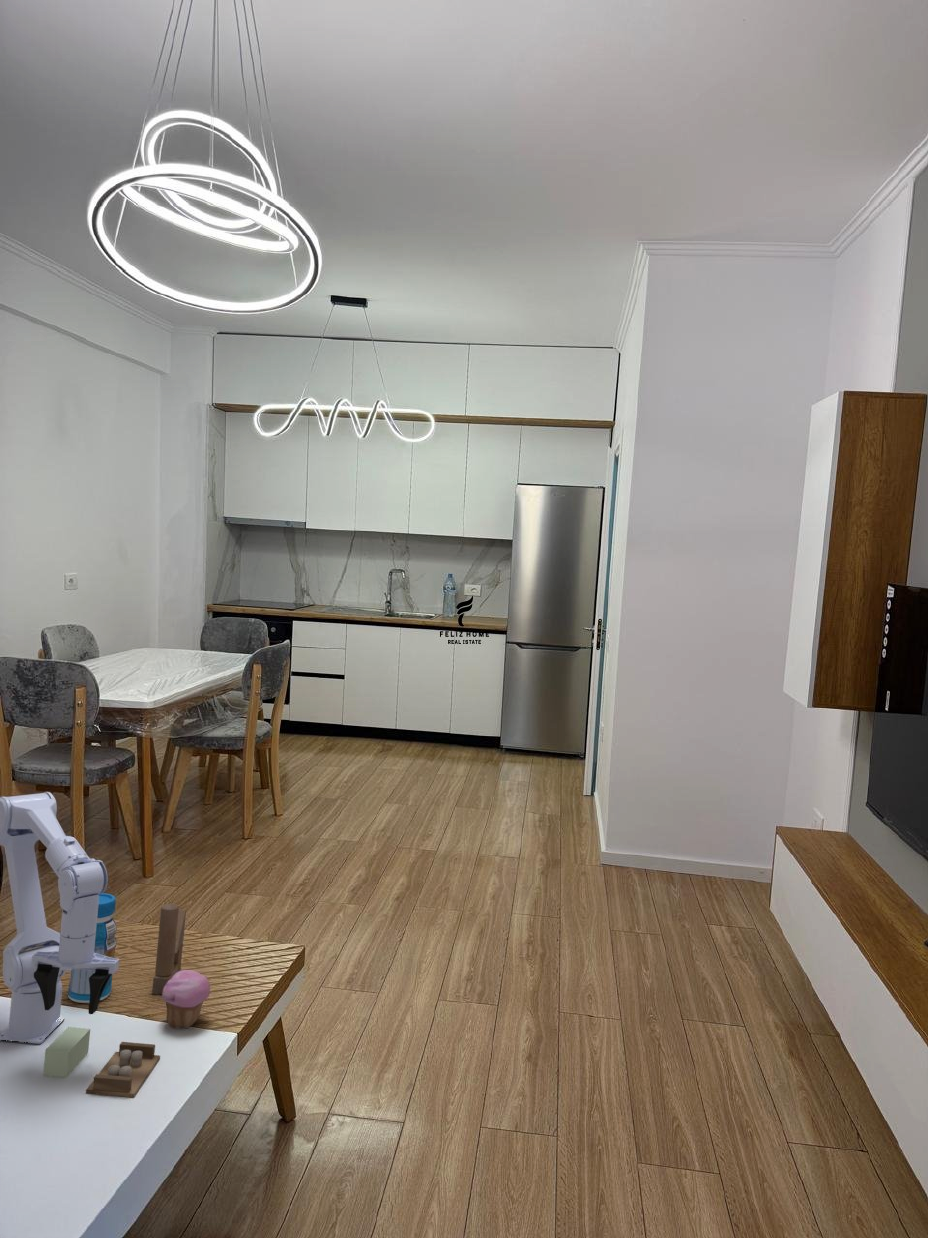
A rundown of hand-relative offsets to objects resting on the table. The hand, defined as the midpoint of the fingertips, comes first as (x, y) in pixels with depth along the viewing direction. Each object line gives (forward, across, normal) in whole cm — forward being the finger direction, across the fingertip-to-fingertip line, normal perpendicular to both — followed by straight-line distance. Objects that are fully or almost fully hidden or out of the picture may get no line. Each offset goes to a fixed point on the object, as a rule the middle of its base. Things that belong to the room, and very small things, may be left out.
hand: (71, 1009), depth 146 cm
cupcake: (+10, +15, +17) cm, 25 cm away
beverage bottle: (+10, -7, +25) cm, 28 cm away
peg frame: (+10, +11, -2) cm, 15 cm away
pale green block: (+10, 0, 0) cm, 10 cm away
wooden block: (+10, +6, +33) cm, 35 cm away
